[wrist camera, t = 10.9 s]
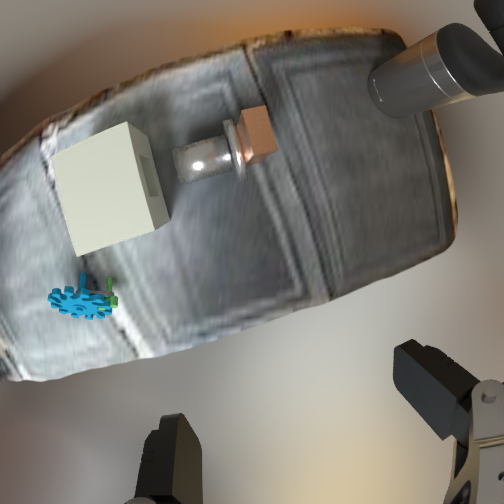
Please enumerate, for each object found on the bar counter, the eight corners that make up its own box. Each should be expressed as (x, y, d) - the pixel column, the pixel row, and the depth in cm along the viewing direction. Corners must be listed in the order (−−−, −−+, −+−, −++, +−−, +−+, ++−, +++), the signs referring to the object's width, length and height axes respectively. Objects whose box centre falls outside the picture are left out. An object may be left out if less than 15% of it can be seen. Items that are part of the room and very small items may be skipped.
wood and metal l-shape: (244, 123, 34) (259, 86, 21) (259, 178, 36) (283, 170, 22) (174, 142, 33) (150, 115, 20) (189, 197, 35) (172, 201, 22)
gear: (62, 322, 36) (35, 295, 28) (66, 288, 39) (43, 256, 31) (125, 323, 39) (109, 297, 31) (126, 288, 42) (113, 255, 34)
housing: (148, 137, 34) (126, 121, 25) (170, 220, 37) (154, 230, 27) (85, 162, 33) (51, 156, 24) (106, 241, 36) (76, 257, 27)
